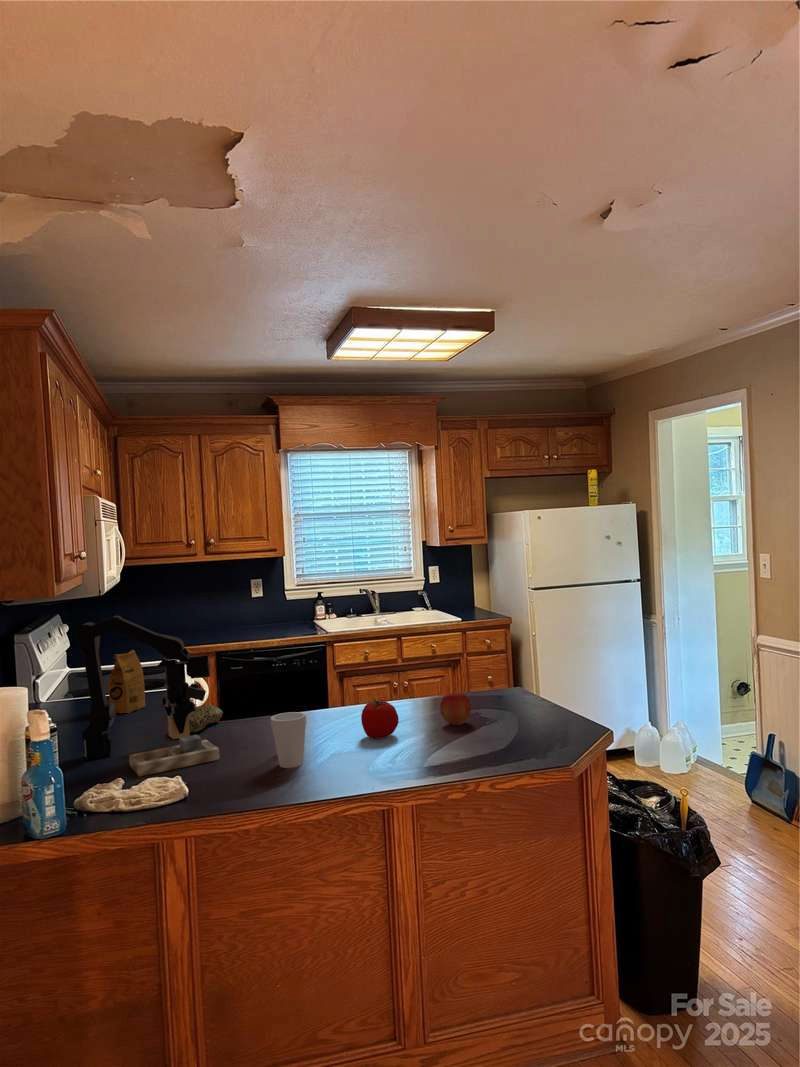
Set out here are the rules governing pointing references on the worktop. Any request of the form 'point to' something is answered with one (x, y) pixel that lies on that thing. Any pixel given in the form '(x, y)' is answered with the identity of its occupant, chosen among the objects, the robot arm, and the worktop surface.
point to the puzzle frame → (174, 756)
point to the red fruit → (379, 719)
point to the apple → (455, 708)
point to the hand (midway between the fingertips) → (179, 731)
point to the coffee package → (127, 684)
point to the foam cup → (289, 738)
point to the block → (174, 731)
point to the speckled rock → (203, 717)
